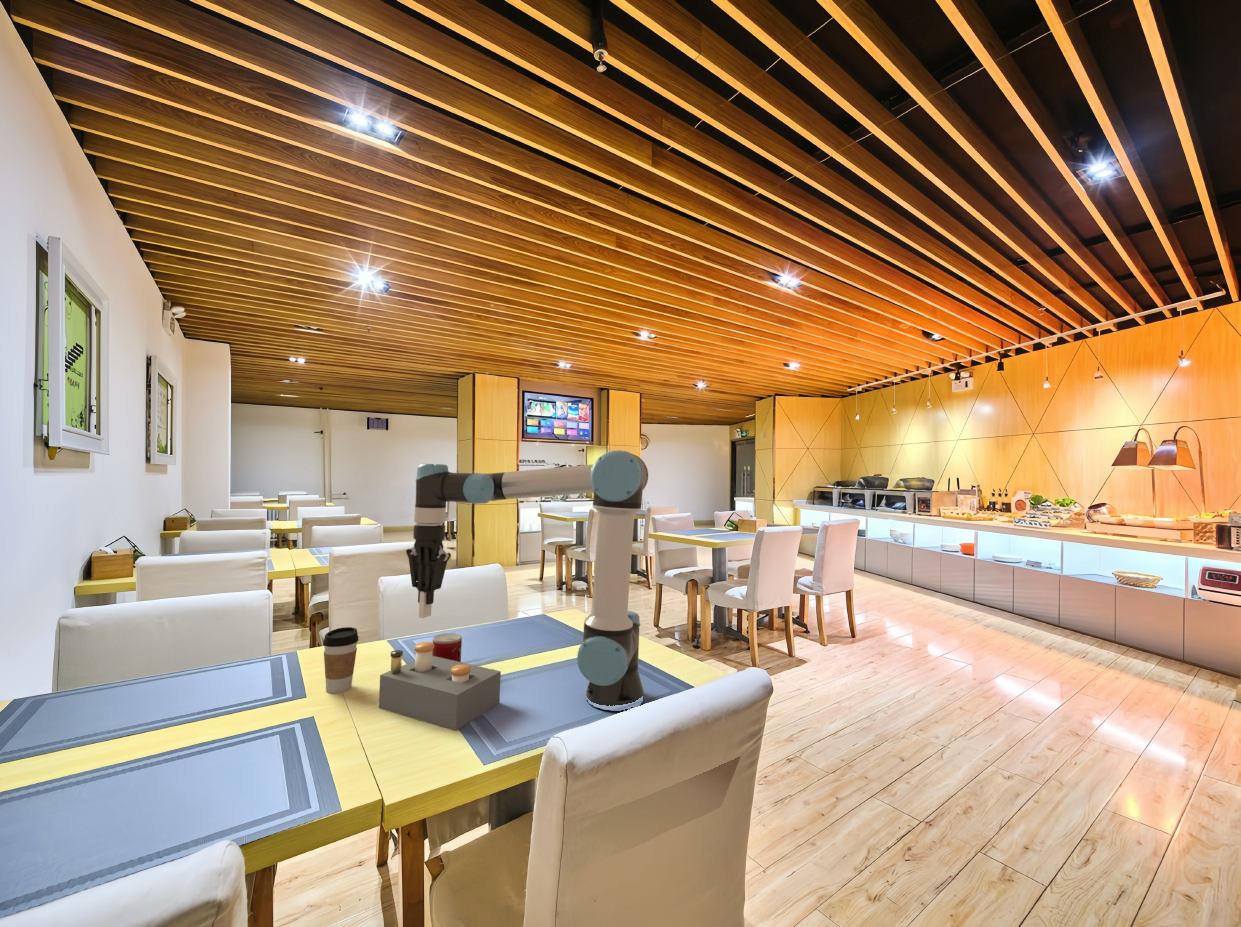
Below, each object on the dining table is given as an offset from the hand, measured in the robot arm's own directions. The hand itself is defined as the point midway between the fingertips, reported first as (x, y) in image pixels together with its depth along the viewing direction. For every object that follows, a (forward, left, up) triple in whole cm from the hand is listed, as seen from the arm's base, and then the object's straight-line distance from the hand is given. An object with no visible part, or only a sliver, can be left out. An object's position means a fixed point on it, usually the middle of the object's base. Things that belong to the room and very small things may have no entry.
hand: (424, 616), depth 131 cm
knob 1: (0, 0, -15) cm, 15 cm away
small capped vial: (+4, +5, -13) cm, 15 cm away
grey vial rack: (-6, 0, -21) cm, 22 cm away
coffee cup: (+24, +5, -21) cm, 32 cm away
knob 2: (-12, 0, -19) cm, 22 cm away
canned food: (+6, -15, -22) cm, 27 cm away
